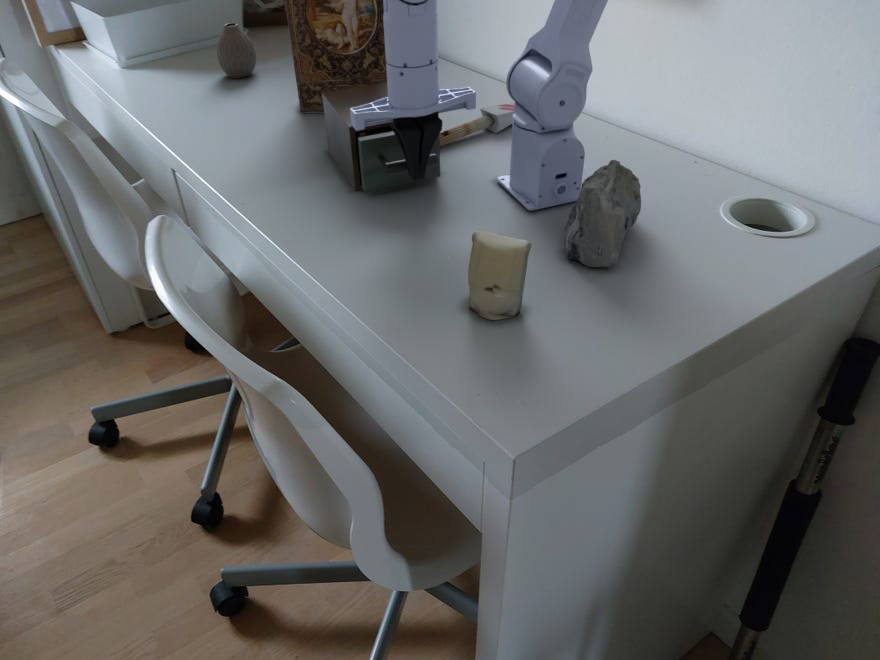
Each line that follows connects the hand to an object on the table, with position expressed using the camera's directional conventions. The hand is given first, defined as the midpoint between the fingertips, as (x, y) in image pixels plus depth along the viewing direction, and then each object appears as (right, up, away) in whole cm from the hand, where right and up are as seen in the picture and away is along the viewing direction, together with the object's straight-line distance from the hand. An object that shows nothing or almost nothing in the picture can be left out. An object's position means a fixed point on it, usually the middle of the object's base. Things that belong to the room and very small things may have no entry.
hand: (416, 176), depth 86 cm
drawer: (-3, +3, +9) cm, 10 cm away
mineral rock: (+22, -9, -5) cm, 24 cm away
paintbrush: (+11, +12, +21) cm, 26 cm away
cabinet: (-5, +5, +14) cm, 15 cm away
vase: (-32, +31, +47) cm, 64 cm away
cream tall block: (+8, -17, -14) cm, 24 cm away
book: (-10, +19, +31) cm, 38 cm away
